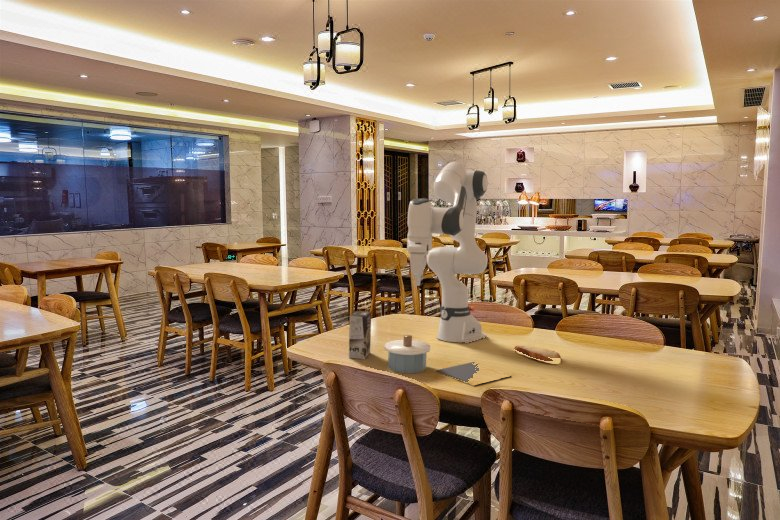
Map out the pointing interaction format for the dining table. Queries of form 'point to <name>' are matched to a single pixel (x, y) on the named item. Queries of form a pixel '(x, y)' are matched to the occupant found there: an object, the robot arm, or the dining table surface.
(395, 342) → the lid
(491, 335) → the dining table surface
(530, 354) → the bread slice
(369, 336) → the coffee box
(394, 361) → the bowl
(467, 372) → the mat
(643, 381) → the dining table surface
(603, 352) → the dining table surface
